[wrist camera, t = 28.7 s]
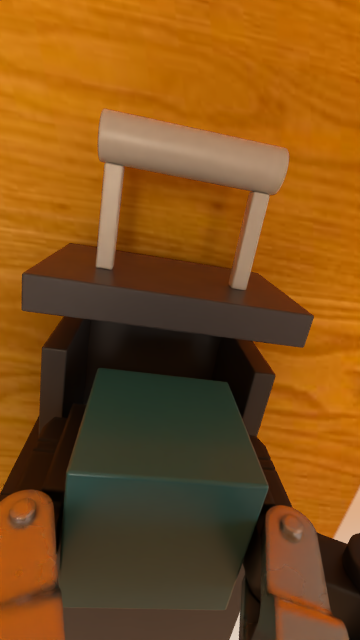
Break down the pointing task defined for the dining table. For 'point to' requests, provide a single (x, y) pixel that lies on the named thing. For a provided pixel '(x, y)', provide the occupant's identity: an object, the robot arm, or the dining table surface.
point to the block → (158, 495)
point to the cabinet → (137, 624)
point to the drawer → (165, 280)
